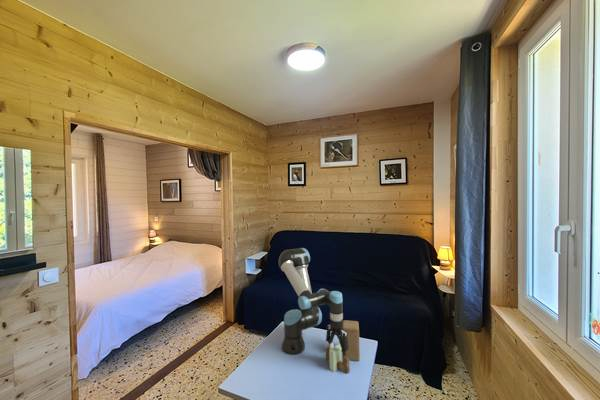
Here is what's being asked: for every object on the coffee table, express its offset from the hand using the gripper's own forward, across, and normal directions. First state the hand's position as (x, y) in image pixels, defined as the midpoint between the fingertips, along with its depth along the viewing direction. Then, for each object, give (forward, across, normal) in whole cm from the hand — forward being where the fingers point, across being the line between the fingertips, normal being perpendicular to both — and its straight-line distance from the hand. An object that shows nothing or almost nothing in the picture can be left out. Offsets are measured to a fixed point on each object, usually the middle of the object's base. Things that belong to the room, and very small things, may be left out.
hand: (337, 357), depth 145 cm
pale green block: (+5, 0, 0) cm, 5 cm away
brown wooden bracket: (+5, 0, 0) cm, 5 cm away
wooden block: (+5, 0, +14) cm, 15 cm away
